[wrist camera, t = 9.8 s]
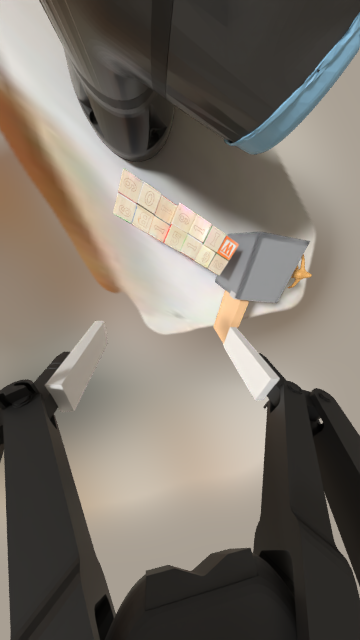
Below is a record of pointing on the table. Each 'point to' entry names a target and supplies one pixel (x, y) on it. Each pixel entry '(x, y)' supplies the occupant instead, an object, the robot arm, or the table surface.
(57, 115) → the table surface
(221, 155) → the table surface
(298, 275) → the figurine
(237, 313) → the light orange rectangular block
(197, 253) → the stack of blocks
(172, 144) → the table surface
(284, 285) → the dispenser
